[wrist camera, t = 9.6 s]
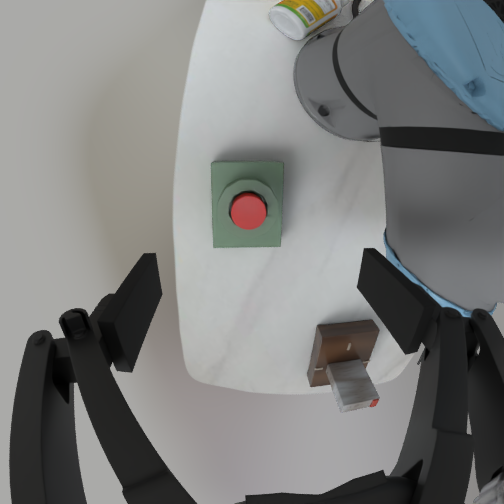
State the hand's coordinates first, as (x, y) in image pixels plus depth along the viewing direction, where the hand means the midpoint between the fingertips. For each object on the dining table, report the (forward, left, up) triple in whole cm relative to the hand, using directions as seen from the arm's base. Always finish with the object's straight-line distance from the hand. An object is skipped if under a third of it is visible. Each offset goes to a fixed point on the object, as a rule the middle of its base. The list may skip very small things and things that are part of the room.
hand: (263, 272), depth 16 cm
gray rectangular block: (+26, +16, -15) cm, 34 cm away
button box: (0, 0, -18) cm, 18 cm away
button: (0, 0, -15) cm, 15 cm away
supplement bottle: (-22, +4, -16) cm, 27 cm away
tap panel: (+25, +16, -18) cm, 35 cm away
